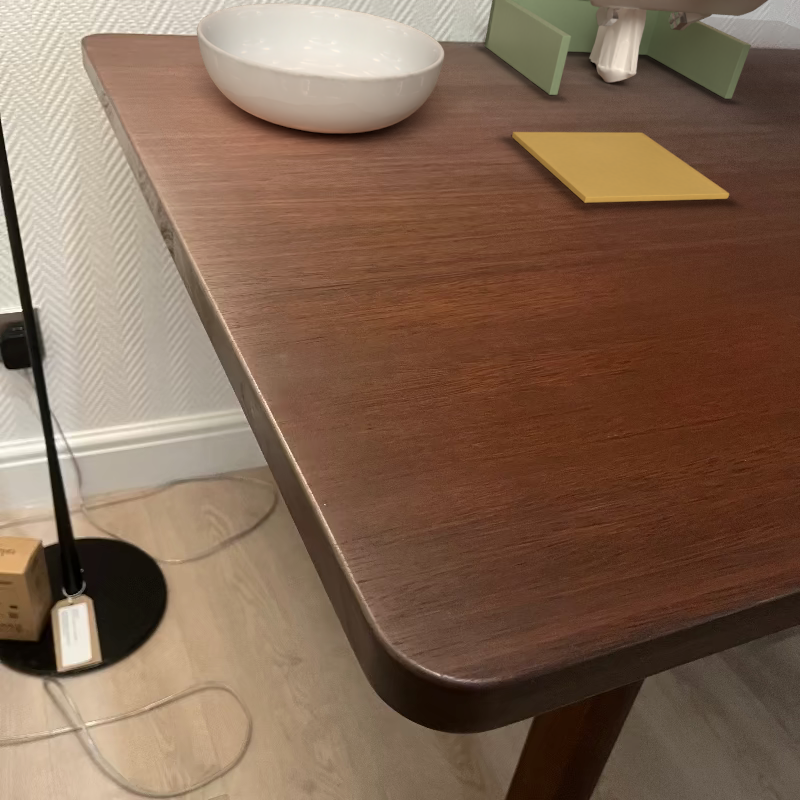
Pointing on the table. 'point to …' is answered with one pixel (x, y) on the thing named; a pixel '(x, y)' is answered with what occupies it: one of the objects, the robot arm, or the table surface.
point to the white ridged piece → (619, 45)
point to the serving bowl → (319, 65)
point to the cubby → (576, 32)
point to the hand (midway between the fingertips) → (639, 22)
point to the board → (617, 167)
